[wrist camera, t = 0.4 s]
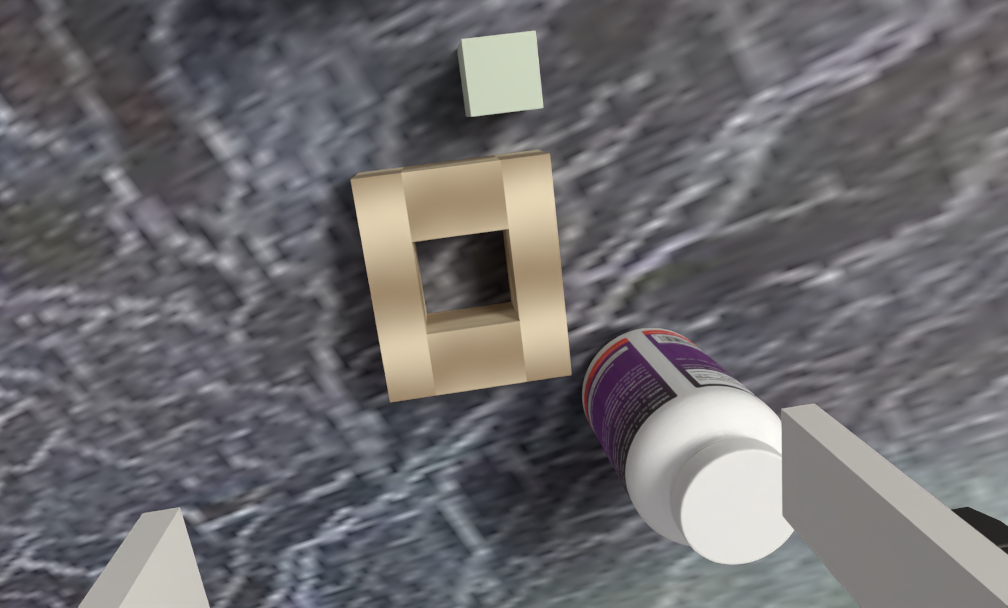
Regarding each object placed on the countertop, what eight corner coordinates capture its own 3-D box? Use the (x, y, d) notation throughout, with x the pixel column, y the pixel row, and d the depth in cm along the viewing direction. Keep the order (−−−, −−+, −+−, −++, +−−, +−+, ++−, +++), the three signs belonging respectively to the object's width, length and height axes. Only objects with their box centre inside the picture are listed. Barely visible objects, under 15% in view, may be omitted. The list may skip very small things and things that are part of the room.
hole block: (358, 172, 38) (350, 179, 35) (537, 149, 39) (549, 153, 35) (393, 375, 42) (390, 402, 38) (558, 351, 42) (571, 374, 39)
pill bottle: (599, 461, 45) (676, 617, 31) (561, 349, 42) (626, 464, 29) (718, 417, 45) (848, 554, 31) (687, 303, 42) (812, 396, 29)
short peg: (457, 48, 37) (461, 39, 33) (521, 41, 38) (535, 30, 33) (465, 116, 38) (471, 116, 34) (528, 108, 39) (543, 108, 34)
